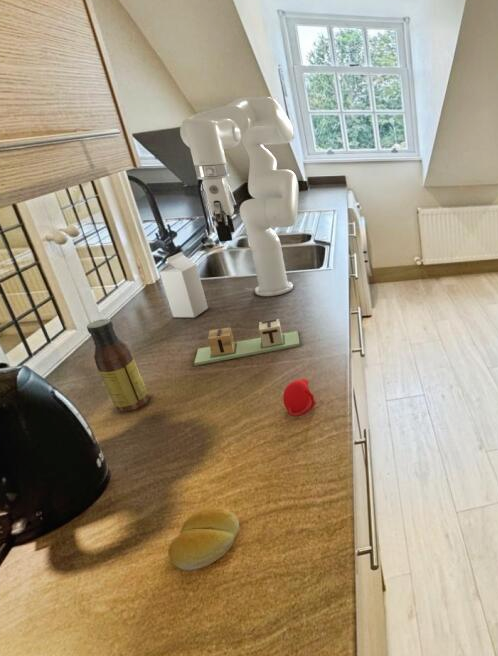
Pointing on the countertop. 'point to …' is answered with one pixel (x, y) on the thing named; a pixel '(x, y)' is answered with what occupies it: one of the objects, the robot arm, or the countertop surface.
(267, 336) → the letter T
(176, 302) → the milk carton
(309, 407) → the cap
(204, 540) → the bread roll
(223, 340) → the letter I
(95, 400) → the countertop surface
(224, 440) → the countertop surface
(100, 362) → the sauce bottle
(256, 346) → the word mat
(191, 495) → the countertop surface
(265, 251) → the robot arm
